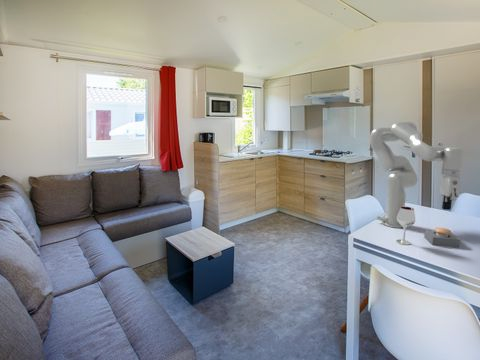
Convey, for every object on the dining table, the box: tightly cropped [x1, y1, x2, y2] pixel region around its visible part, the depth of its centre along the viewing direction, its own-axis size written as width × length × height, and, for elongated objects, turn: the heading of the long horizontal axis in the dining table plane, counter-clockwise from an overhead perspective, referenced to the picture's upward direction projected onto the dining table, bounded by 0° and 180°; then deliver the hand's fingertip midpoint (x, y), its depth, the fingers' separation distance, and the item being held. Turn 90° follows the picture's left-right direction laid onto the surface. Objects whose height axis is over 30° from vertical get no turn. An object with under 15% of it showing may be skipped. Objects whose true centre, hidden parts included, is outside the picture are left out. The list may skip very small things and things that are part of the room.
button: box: [434, 227, 452, 237], centre depth 150 cm, size 7×7×5 cm
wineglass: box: [396, 206, 416, 246], centre depth 148 cm, size 8×8×18 cm
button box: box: [423, 229, 461, 248], centre depth 150 cm, size 12×10×4 cm
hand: (446, 209), depth 147 cm, fingers closed
